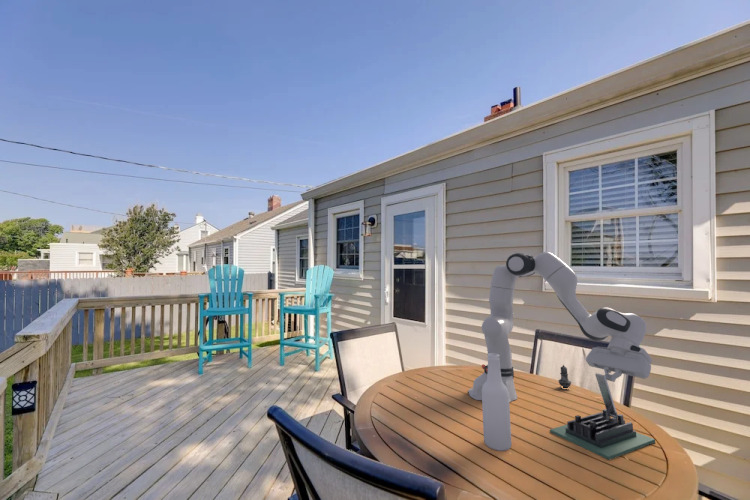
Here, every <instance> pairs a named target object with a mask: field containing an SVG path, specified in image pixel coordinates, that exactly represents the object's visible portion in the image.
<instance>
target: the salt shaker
mask: <svg viewBox="0 0 750 500" xmlns="http://www.w3.org/2000/svg"><path fill="white" fill-rule="evenodd" d="M559 373H560V378H559V379H558V380H557V381H558V384H559V385H560V387H561V386H563V388H568V387H569V388H570V387H571V385H572V382H571V381H570V380H569V377H568V375H569V373H568V368H567V367H566V366H565V365H564V364H563V365H562V366H561V367H560V372H559Z"/></svg>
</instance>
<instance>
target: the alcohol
mask: <svg viewBox="0 0 750 500" xmlns="http://www.w3.org/2000/svg"><path fill="white" fill-rule="evenodd" d="M486 359H487V365H488V374H487V381H486V382H485V383H484V385H483V387H482V400H481V401H482V403H481V405H482V428H483V442H484V444H485V446H486V447H487V448H488V449H491V450H493V449H494V451H498V452H505V451H506V450H507V451H508V450H510V448H511V447H512V429H511V425H512V424H511V410H510V409H511V408H510V403H509V392H508V389H507V387H506V386H505V385H504V383H503V382H502V378H501V370H500V362H499V360H500V358H499V355H498V354H495V353H489V354H488V353H487V358H486Z"/></svg>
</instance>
